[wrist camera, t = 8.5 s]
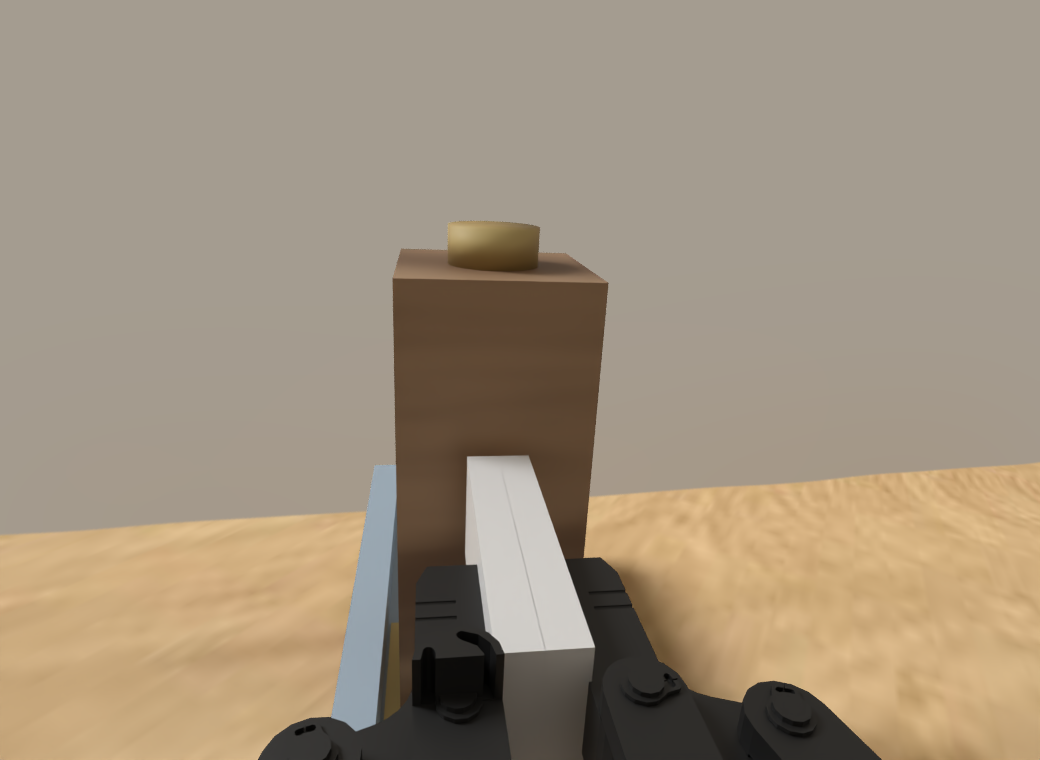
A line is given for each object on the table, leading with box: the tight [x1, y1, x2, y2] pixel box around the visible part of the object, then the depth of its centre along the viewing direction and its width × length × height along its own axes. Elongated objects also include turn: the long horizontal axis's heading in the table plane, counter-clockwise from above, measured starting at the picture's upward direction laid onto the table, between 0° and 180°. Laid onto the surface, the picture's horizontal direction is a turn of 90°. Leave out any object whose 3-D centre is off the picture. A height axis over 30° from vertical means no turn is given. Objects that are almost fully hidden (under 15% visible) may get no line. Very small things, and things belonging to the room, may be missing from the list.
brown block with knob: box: [393, 221, 608, 708], centre depth 19 cm, size 5×5×14 cm
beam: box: [331, 465, 400, 731], centre depth 21 cm, size 26×9×6 cm, turn 8°
